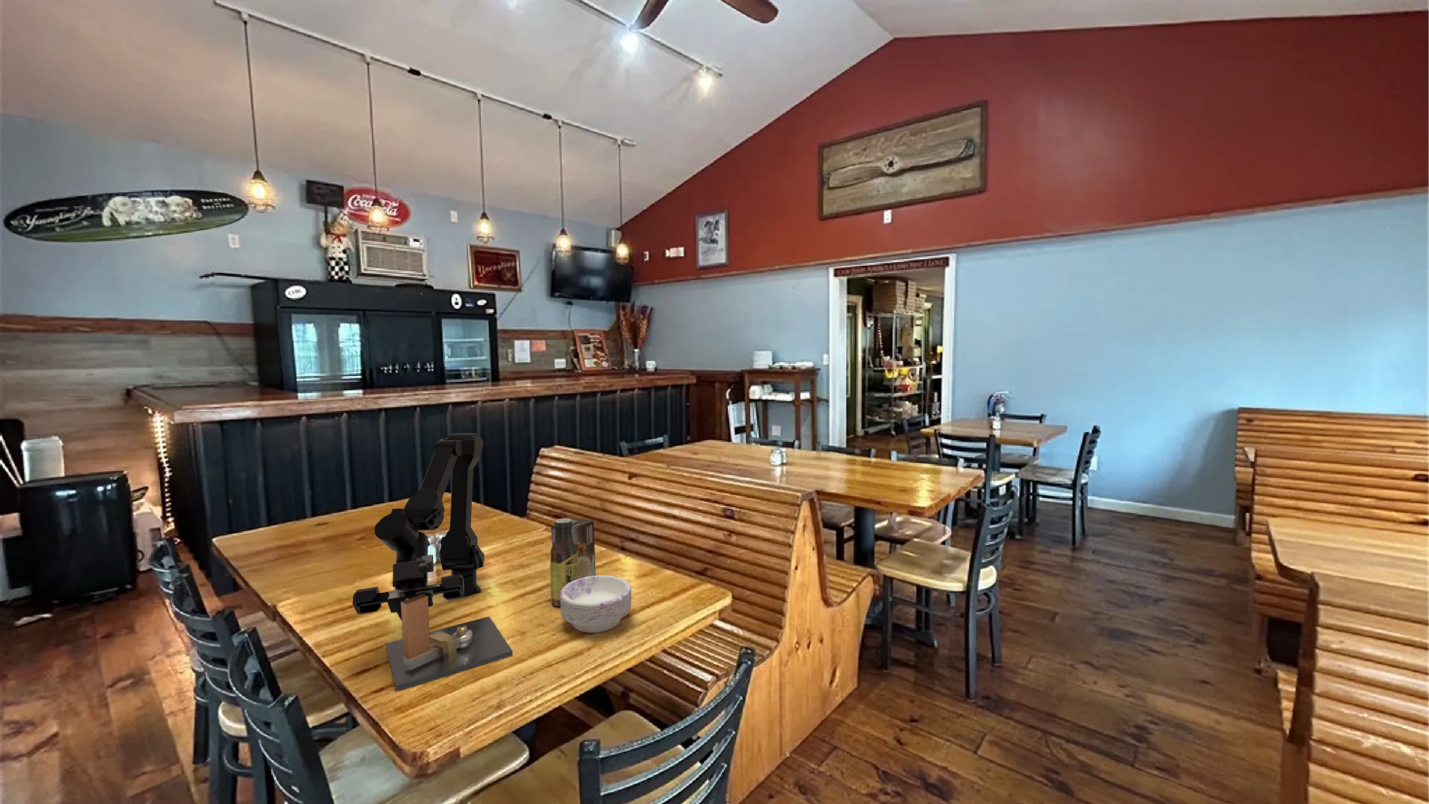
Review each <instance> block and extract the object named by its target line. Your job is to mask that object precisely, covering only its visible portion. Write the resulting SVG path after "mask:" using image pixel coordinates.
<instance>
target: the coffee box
mask: <svg viewBox="0 0 1429 804" xmlns="http://www.w3.org/2000/svg"><path fill="white" fill-rule="evenodd" d="M570 519H571V520H572V528H571V529H572V539H573V542H574V545H575V547H576V550H577V563H578V579H580V578H584V577H588V576H597V572H596V569H597V568H596V550H595V549H596V547H595V524H594V523H595V520H593V519H586V518H580V517H574V518H570ZM550 532H551V547H552V546H553V544H554V542H555V540H556V539H555V536H556V532H555V524H553V525H551V526H550Z"/></svg>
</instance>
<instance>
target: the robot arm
mask: <svg viewBox="0 0 1429 804" xmlns="http://www.w3.org/2000/svg"><path fill="white" fill-rule="evenodd" d="M483 447H484V440H483V438H482V437H480V436H479V434H478V433H476V432H475V433H472V432H470V433H469V432H468V433H466V432H465V433H450V434H449V436H448V437H446V438H441V439H439V440H438V441H435V445H434V454H433V456H432V457H431V461H430V463H429V466H428V468H427V471H426V473H425V475H424V478H423V480H422V483H421V486H420V487H419V490H418V491H417V492H416V493H414V494H412V495H411V496H410V497H409V498H408V499H407V501H406V503H405V505H404V507H402V508H397V507H396V508H395V507H394V508H392V509H391V511H390V513H388V514H386V515H384V516H383V517H382V518H380V519H379V520H378V522H376V524H375V526H374V534H375V536H376V538H377V539H378V540H379V541H381V542H382V543H383V544H384V545H385V546H386V547H388V549H390V550H391V551H393V552H396V553H395V554H396V555H395V563H393V564H392V587H393V588H394V589H392V590H388V591H384V592H383V591H382V592H380V589H379V586H374V587H367V588H359V589H356V590H355V592H354V593H353V595H352V602H351V603H352V606H353V608H354V610H355V612H356V615H365V614H371V613H376V612H378V611H379V610H380V609H381V608H382V604H384V603H386V604H387V606H388V608H389V609H388V610H389V611H390V613H391V614H395V613H396V614H397V616H398V617H399V619H400V621H401V622H402V612H401V602H402V601H405V600H407V599H410V598H413V597H416V596H418V595H421V594H424V595H426V596H428V608H430V607H433V606H434V600H433V598H434V595H440V594H442V598H444V599H446V600H447V601H450V600H455V599H461V598H464V597H465V596H468V595H472V594H477V593H481V592H482V589H481V587H480V586H479V584H478V581H477V580H478V578H477V576H478V575H477V571H478V569H481V568H483V567H484V565H485V564H484V563H485V561H486V560H485V557H486V555H485V553H484V552H483V551H482V549H481V548H480V546H479V545H478V543H479V542H478V540H479V539H478V537H477V534H476V533H475V531H474V530H473V528H472V512H473V511H472V507H473V505H472V504H473V485H474V484H473V483H474V482H473V481H474V468H475V467H476V466H477V464H478V462H479V461H480V460H481V458H482V456H481V455H482V451H483V449H484V448H483ZM450 478H451V486H450V487H451V490H450V492H451V494H450V509H449V510H450V513H449V514H450V515H449V529H448V531H447V532H446V534H445V535H444V536H442V537H441V539H440V549H439V552H438V559H439V561H440V565H441V568H442V571H450V574H451V575H446V576H441V577H440V583H436V584H435V583H434V584H429V583H428V582H429V580H428V578H429V573H433V572H434V570H435V567H434V566H435V564H434V554H429V547H430V545H431V542H430V540H429V537H428V535H427V534H426V533H424V532H423V531H425V532H426V531H435V530H437V529H438V530H439V528H440V526H441V525H442V523H443V521H444V518H445V514H444V513H445V509H446V507H445V505H444V502H443V497H444V494H445V492H446V489H447V486H448V484H449V482H450V481H449V480H450Z"/></svg>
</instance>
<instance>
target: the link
mask: <svg viewBox="0 0 1429 804" xmlns="http://www.w3.org/2000/svg"><path fill="white" fill-rule="evenodd" d="M401 612H402V621H401V629H402V639H403V648H404V657H403V662H404V667H406V668H408V669H409V670H412V669H414V668H416V667H418V666H421V665H423V664H425V663H427V662H429V661H431V660H433V659H436V658H438V657H440V656H442V655H444V654H443V647H442V648H441V647H439V646H436V645H434V644H431V645H430V632H431V630H430V615H429V612H430V611H429V607H428V596H426V595H424V594H421V595H418V596H416V597H413V598H410V599H406V600H405V601H402V602H401ZM452 636H453V638H455V639H456V649H457V648H459V647H463V646H467V645H469V644H470V643H471V642H472V631H471V630H468V629H467V632H466V633H465V634H462V635H459V634H457V632H455V633H454V634H453V635H452Z"/></svg>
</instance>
